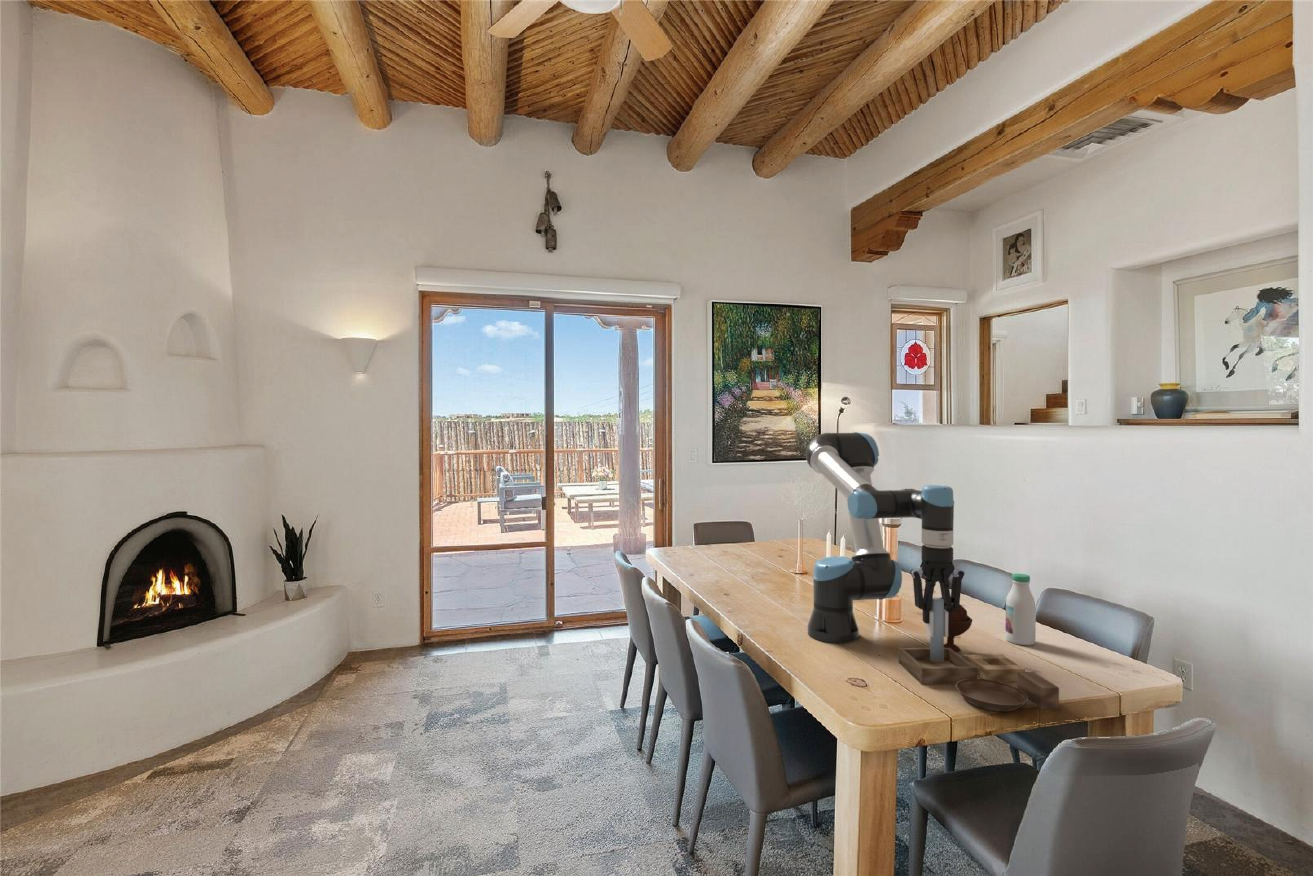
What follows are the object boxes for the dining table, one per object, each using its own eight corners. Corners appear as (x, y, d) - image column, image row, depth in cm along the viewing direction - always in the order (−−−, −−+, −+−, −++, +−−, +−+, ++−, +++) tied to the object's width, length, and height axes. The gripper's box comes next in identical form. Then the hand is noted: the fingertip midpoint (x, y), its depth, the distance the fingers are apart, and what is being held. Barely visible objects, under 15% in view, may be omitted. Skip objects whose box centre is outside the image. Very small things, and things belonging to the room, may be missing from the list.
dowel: (933, 662, 158) (933, 600, 158) (927, 658, 162) (928, 597, 161) (946, 662, 158) (946, 600, 158) (940, 658, 162) (940, 597, 161)
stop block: (1041, 709, 140) (1041, 687, 139) (1017, 692, 149) (1017, 671, 148) (1058, 709, 140) (1058, 687, 140) (1033, 692, 149) (1033, 671, 149)
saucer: (953, 684, 154) (953, 674, 154) (1021, 694, 148) (1021, 682, 148) (958, 710, 140) (958, 698, 140) (1033, 721, 134) (1033, 709, 134)
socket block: (985, 681, 155) (986, 669, 155) (965, 665, 165) (965, 654, 165) (1025, 681, 155) (1025, 669, 155) (1002, 665, 165) (1002, 654, 165)
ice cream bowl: (955, 659, 170) (955, 605, 169) (921, 646, 180) (921, 595, 179) (980, 652, 174) (980, 600, 174) (945, 640, 184) (946, 590, 184)
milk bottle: (1038, 641, 184) (1038, 574, 183) (1032, 648, 178) (1032, 579, 178) (1009, 635, 189) (1009, 570, 189) (1002, 641, 183) (1002, 575, 183)
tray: (921, 684, 153) (921, 668, 153) (898, 662, 167) (898, 648, 167) (977, 684, 153) (977, 668, 153) (949, 662, 167) (949, 647, 167)
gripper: (912, 548, 156) (912, 640, 156) (976, 548, 156) (975, 640, 156) (900, 542, 163) (899, 631, 164) (960, 542, 164) (960, 630, 164)
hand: (936, 635), depth 160 cm, fingers closed on dowel, 3 cm apart
